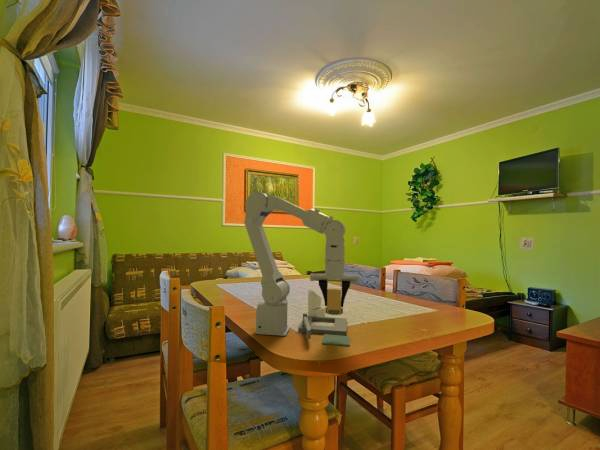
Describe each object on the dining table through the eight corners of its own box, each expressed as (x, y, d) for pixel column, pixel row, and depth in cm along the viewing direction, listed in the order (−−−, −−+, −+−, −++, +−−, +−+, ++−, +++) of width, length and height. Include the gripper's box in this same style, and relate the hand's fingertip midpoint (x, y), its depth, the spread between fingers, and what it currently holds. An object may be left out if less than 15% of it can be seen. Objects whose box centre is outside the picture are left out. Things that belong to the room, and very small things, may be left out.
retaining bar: (302, 322, 96) (302, 313, 96) (306, 322, 96) (307, 313, 96) (306, 339, 80) (306, 328, 81) (311, 339, 81) (311, 328, 81)
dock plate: (298, 331, 91) (298, 328, 91) (304, 319, 105) (304, 315, 105) (346, 335, 88) (346, 331, 88) (346, 321, 102) (346, 318, 102)
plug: (324, 314, 85) (325, 290, 85) (325, 309, 90) (326, 286, 90) (342, 315, 84) (343, 290, 84) (342, 310, 89) (343, 287, 89)
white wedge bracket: (300, 313, 103) (308, 290, 107) (314, 321, 110) (321, 299, 114) (309, 315, 101) (316, 291, 105) (322, 323, 108) (329, 301, 111)
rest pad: (321, 344, 81) (321, 342, 81) (323, 335, 88) (323, 334, 88) (349, 346, 80) (349, 344, 80) (349, 337, 87) (349, 336, 87)
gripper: (358, 259, 90) (358, 303, 89) (312, 258, 92) (311, 301, 92) (360, 261, 83) (359, 309, 82) (309, 260, 85) (308, 307, 85)
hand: (334, 305), depth 87 cm, fingers closed on plug, 4 cm apart
